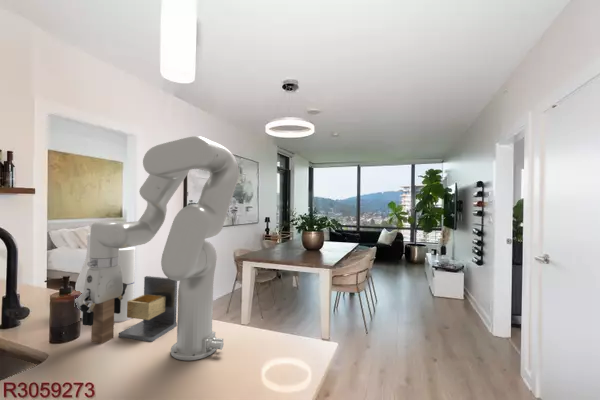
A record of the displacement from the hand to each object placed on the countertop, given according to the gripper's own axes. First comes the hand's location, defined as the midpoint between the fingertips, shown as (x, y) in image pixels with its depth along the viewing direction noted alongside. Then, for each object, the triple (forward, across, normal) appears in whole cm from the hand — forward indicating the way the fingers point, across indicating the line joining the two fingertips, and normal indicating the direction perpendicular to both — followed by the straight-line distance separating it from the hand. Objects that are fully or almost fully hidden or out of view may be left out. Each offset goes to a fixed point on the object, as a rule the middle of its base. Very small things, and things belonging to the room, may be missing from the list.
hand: (102, 318), depth 92 cm
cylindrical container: (+7, +16, +8) cm, 19 cm away
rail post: (+6, 0, 0) cm, 7 cm away
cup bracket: (+6, +9, -9) cm, 14 cm away
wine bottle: (+7, +15, +21) cm, 26 cm away
